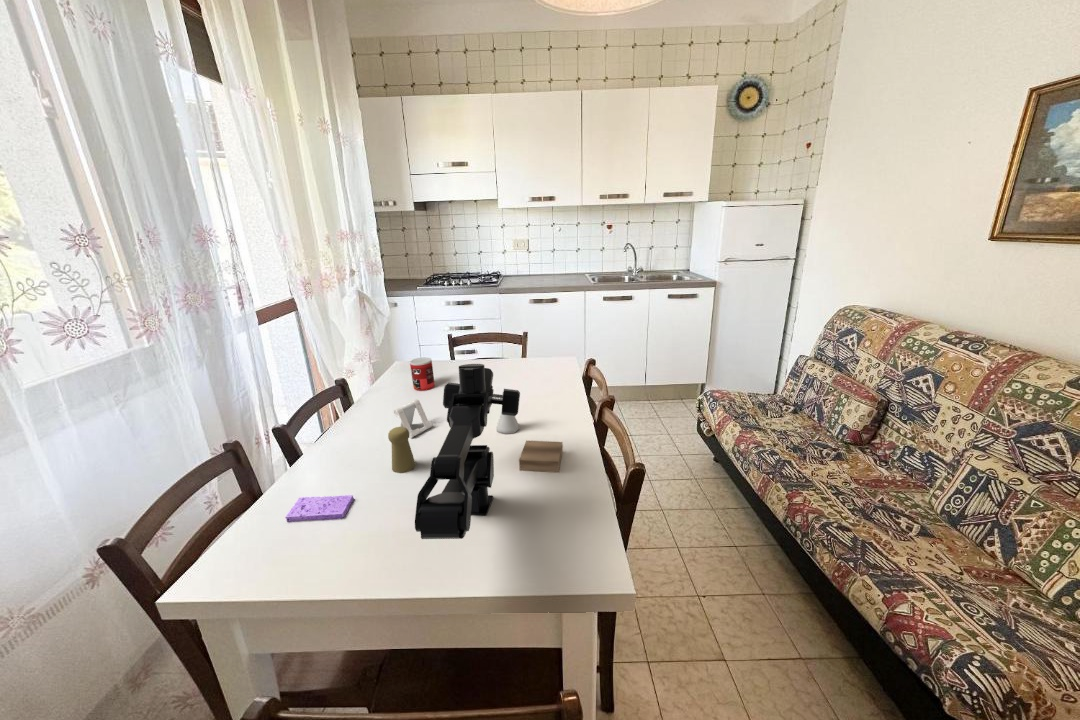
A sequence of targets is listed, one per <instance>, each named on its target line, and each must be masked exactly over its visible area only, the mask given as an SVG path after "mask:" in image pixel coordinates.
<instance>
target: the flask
mask: <svg viewBox="0 0 1080 720" xmlns="http://www.w3.org/2000/svg"><path fill="white" fill-rule="evenodd" d="M519 430H520V424H519V422H518V419H517V418H516V416H510V415H502V409H501V411H500V414H499V418H498V422H497V425H496V433H500V434H504V435H506V434H507V435H509V434H514V433H516V432H517V431H519Z"/></svg>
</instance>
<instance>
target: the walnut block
mask: <svg viewBox="0 0 1080 720" xmlns="http://www.w3.org/2000/svg"><path fill="white" fill-rule="evenodd" d="M563 448H564V446H563V441H548V440H546V441H545V440H544V441H543V440H525V443H524V445H523V448H522V451H521V454H520V456H519V459H518V463H519V471H523V472H524V471H525V472H528V471H529V472H531V471H532V472H547V473H560V468H561V462H562V457H563V452H564V449H563Z"/></svg>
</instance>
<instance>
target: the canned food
mask: <svg viewBox="0 0 1080 720" xmlns="http://www.w3.org/2000/svg"><path fill="white" fill-rule="evenodd" d="M409 365H410V373H411V381H412V386H413V389H414V390H415V391H418V392H425V391H430V390H432V389H433V388H434V387H435V377H434V367H433V360H432V358H431V357H417V358H413V359H411V360H410V361H409Z"/></svg>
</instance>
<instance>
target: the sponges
mask: <svg viewBox="0 0 1080 720" xmlns="http://www.w3.org/2000/svg"><path fill="white" fill-rule="evenodd" d="M354 500H355V498H354V495H353V494H348V495H333V496H332V495H331V496H329V495H328V496H325V495H324V496H311V497H310V496H299V498H298V499H296V502H295V503H294V505H293V506H292V507H291V508H290V510H289V511H288V512H287V514H286V515H285V516H284V517H285V519H286V522H299V521H300V522H301V521H302V522H303V521H314V520H315V521H319V520H320V521H321V520H337V519H338V520H339V519H343V518H344V517H346V515H347V513H348V511H349V509H350V507H351V506H352V503H353V501H354Z"/></svg>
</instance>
